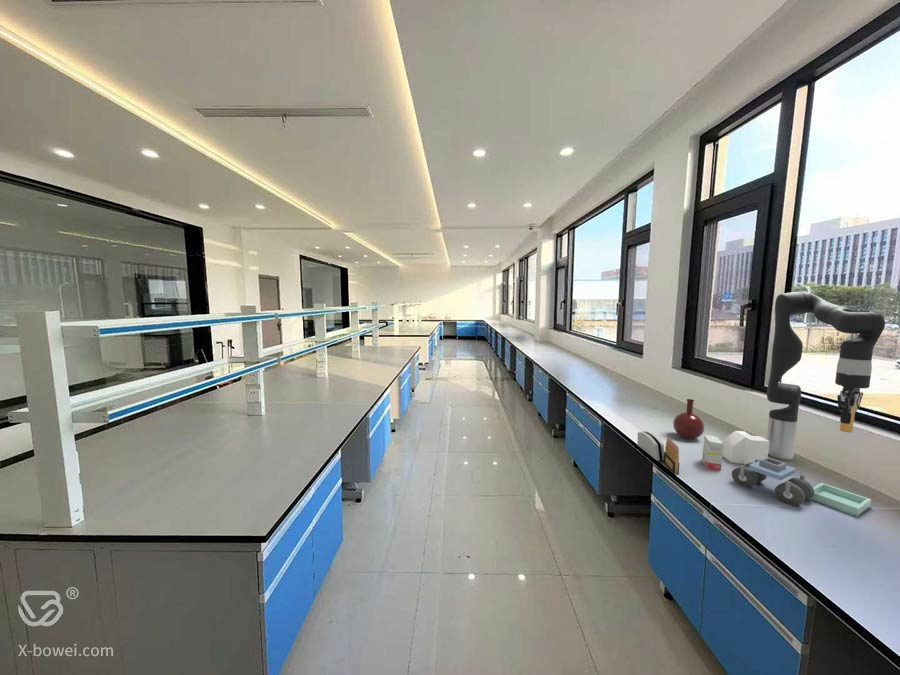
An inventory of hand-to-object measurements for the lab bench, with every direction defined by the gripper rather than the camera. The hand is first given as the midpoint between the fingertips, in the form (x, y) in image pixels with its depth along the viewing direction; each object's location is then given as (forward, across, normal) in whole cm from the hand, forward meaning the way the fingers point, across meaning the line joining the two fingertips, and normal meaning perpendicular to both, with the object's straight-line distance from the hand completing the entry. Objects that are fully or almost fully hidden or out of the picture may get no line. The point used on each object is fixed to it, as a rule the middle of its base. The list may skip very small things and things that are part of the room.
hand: (847, 422), depth 117 cm
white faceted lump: (+29, -8, -30) cm, 43 cm away
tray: (+29, 0, 0) cm, 29 cm away
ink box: (+29, +9, -35) cm, 46 cm away
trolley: (+29, +12, -14) cm, 34 cm away
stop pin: (+3, 0, 0) cm, 3 cm away
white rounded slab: (+29, +21, -52) cm, 64 cm away
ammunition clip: (+29, +27, -40) cm, 57 cm away
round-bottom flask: (+29, -14, -57) cm, 65 cm away
